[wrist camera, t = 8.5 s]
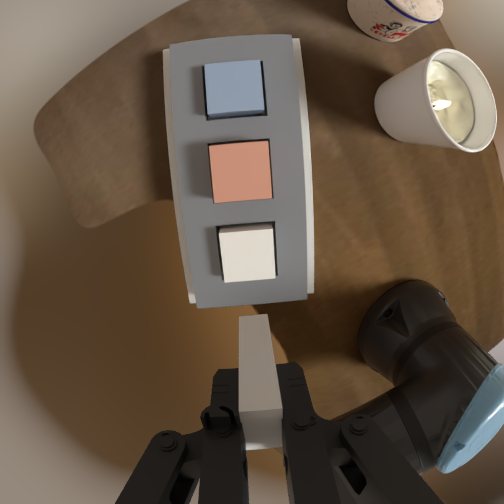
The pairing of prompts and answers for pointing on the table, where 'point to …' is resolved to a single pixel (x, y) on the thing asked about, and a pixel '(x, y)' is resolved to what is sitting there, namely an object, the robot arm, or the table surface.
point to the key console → (241, 131)
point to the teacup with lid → (393, 16)
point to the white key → (247, 252)
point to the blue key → (234, 89)
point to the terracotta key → (240, 171)
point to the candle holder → (439, 103)
